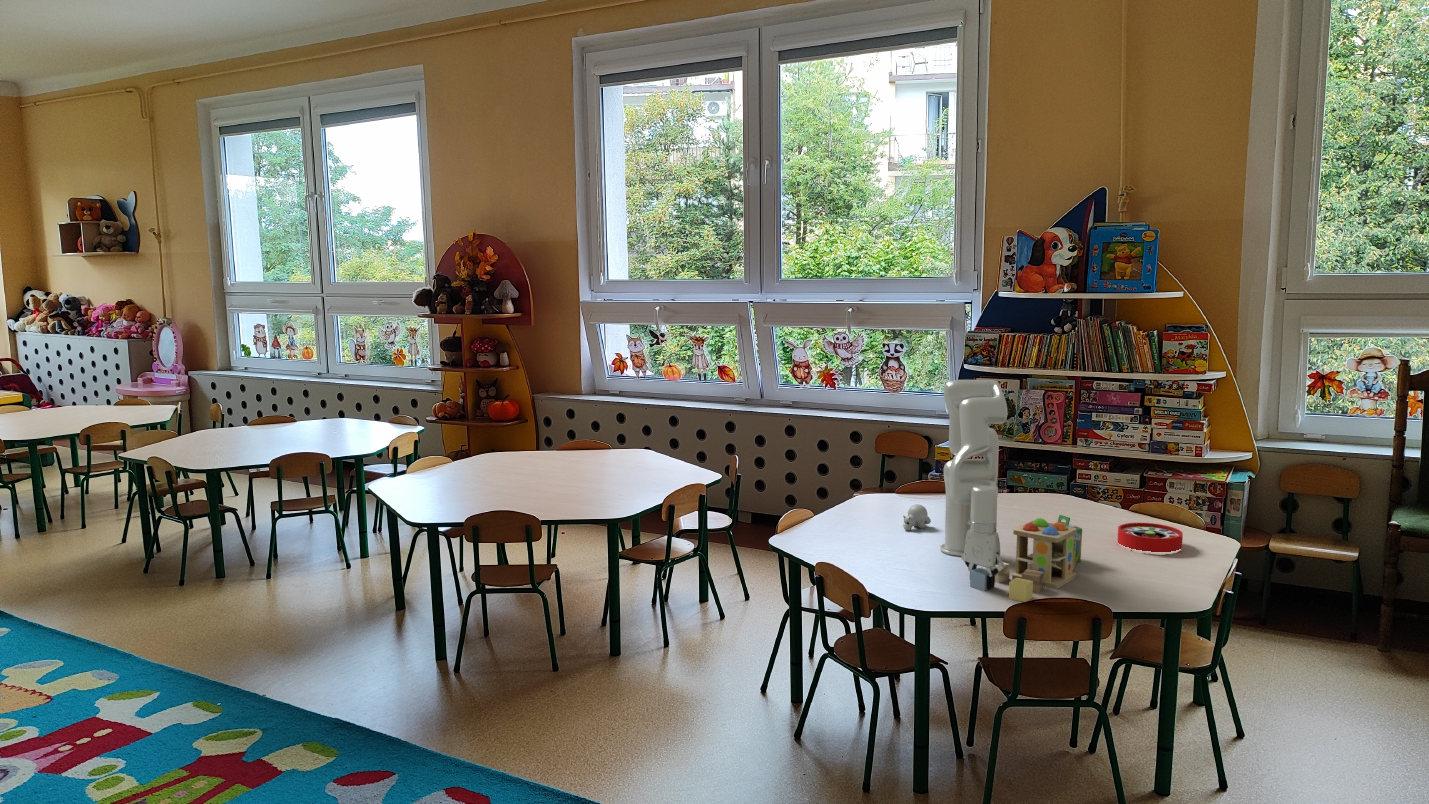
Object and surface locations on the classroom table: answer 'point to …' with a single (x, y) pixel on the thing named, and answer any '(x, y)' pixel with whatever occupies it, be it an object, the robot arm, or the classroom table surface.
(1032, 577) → the walnut cube
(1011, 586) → the mustard cube
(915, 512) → the chubby cartoon animal
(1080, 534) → the chalk box
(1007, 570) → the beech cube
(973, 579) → the slate-blue cube
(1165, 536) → the toy clock
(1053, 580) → the pounding bench toy
